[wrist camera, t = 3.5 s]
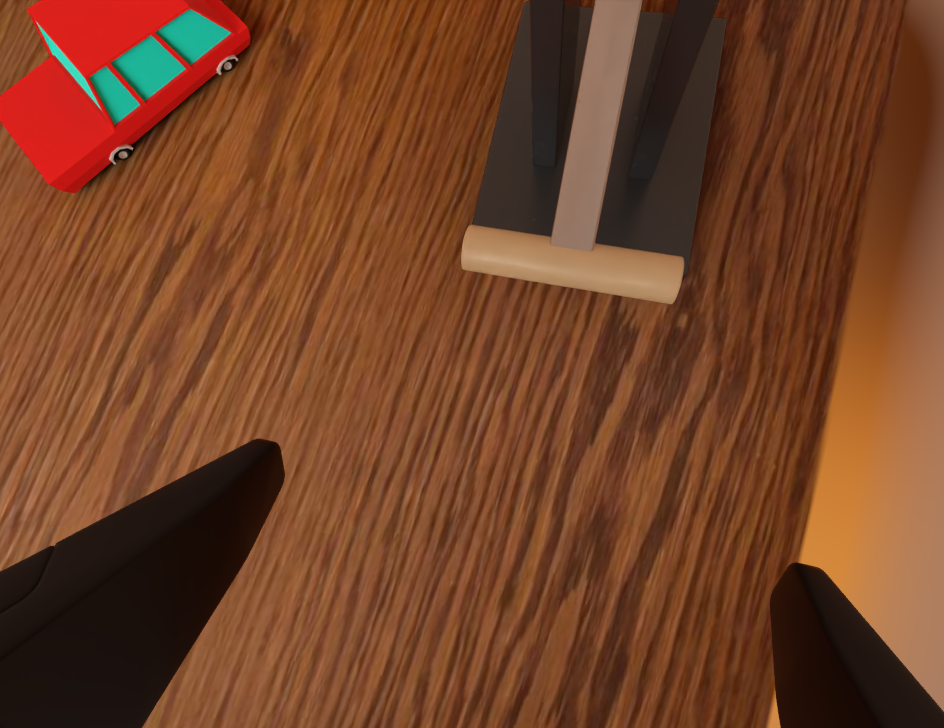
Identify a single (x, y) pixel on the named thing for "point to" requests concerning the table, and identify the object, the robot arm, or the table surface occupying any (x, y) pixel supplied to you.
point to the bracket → (638, 135)
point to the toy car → (113, 77)
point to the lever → (585, 188)
